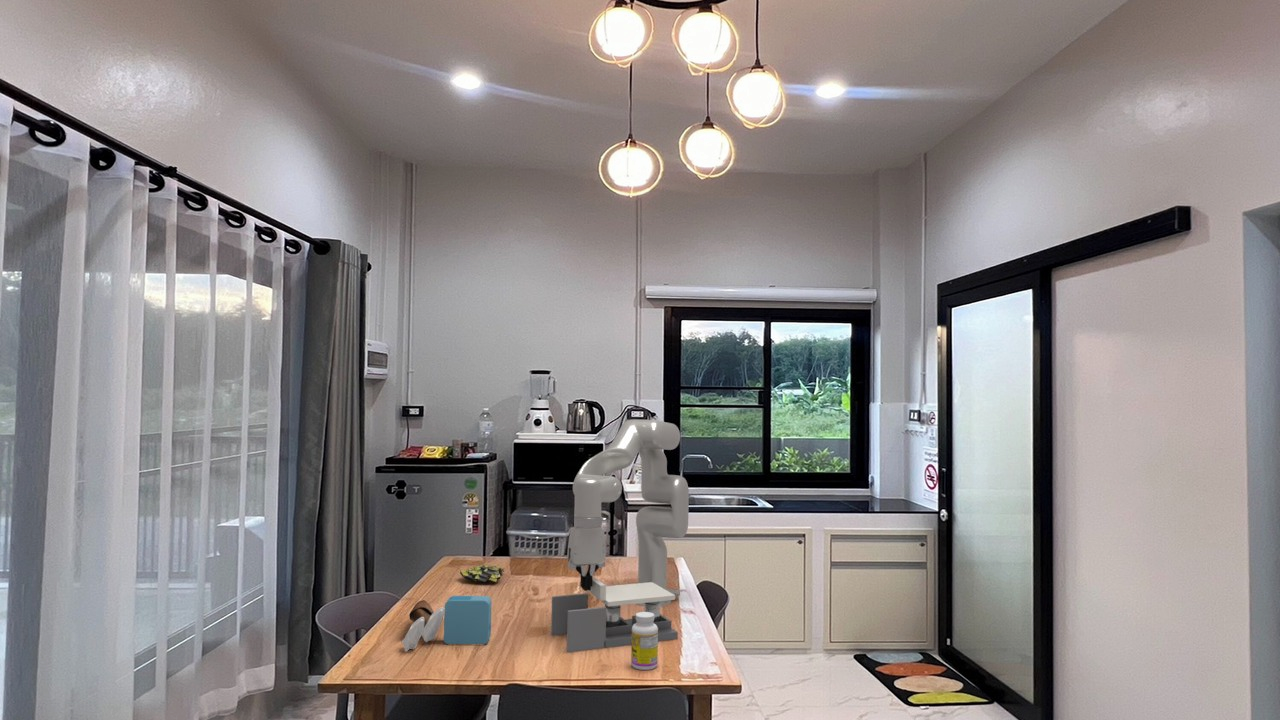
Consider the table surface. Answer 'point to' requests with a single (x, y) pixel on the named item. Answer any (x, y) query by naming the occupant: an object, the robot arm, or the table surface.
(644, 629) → the supplement bottle
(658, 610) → the silver metal shaker
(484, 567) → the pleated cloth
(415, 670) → the table surface
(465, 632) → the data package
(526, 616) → the table surface
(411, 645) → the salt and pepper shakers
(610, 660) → the table surface
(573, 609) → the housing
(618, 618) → the glass spice jar
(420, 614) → the sunglasses case
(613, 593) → the lid
